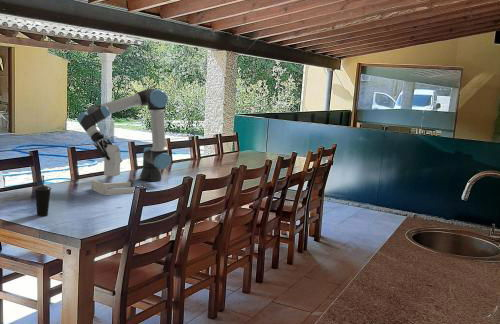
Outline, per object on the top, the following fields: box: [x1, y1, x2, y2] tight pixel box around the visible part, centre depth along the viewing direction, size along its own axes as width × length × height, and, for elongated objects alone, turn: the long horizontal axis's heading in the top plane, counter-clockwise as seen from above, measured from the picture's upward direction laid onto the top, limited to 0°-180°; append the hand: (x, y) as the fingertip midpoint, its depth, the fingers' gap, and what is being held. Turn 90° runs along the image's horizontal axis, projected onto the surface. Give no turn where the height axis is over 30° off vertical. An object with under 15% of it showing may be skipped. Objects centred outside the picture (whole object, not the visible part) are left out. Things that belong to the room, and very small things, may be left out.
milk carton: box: [103, 144, 121, 177], centre depth 308 cm, size 7×7×19 cm
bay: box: [91, 178, 146, 196], centre depth 314 cm, size 28×18×6 cm
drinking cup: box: [34, 175, 52, 217], centre depth 246 cm, size 8×8×20 cm
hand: (117, 162), depth 307 cm, fingers closed on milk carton, 8 cm apart
